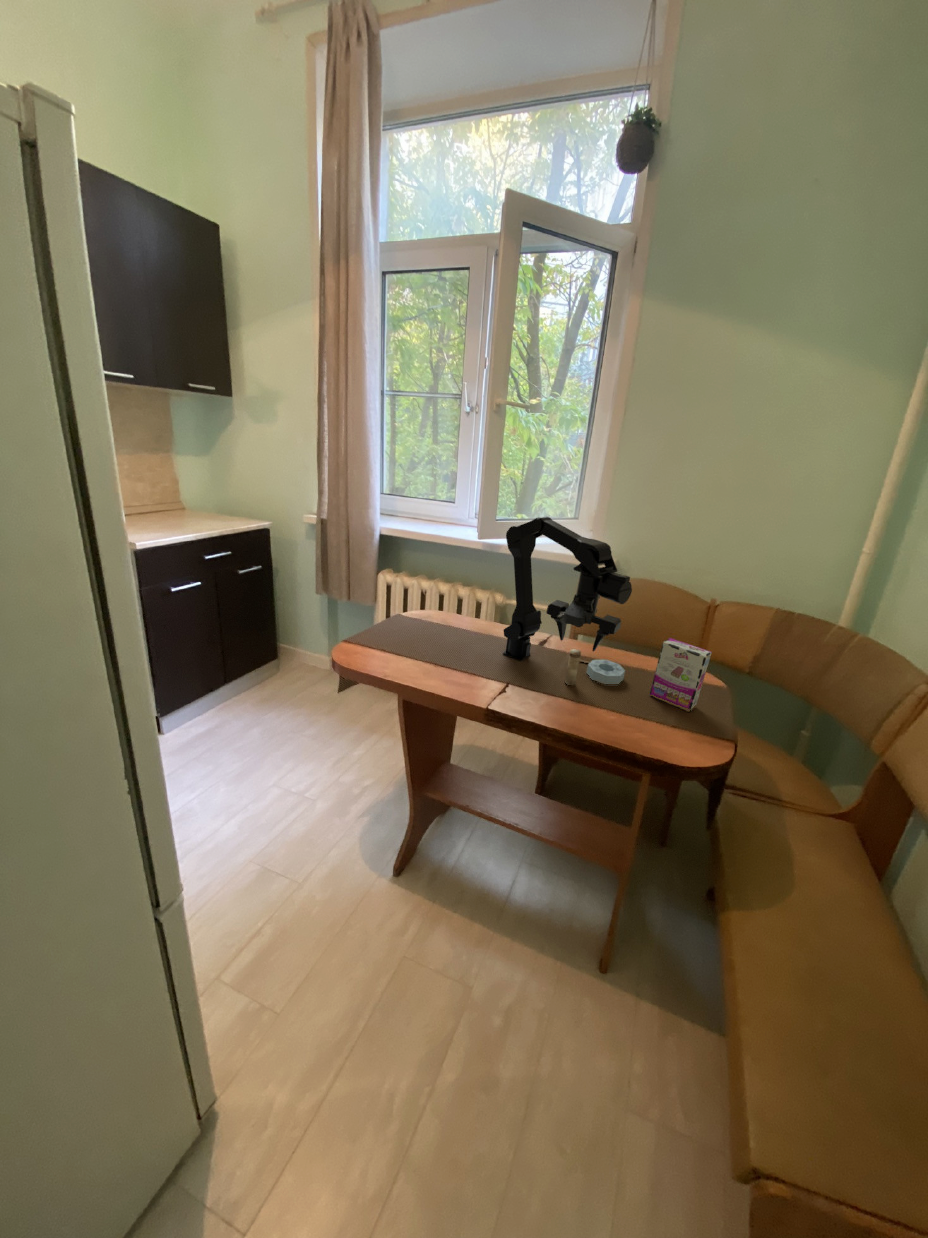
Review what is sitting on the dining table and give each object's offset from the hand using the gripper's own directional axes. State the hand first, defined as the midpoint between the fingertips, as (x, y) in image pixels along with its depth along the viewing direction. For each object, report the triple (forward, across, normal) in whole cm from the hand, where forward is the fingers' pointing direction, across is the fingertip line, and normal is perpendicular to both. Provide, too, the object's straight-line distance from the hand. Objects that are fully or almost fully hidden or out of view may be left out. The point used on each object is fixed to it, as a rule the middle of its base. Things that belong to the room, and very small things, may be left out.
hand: (577, 645), depth 130 cm
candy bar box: (+12, +25, +10) cm, 30 cm away
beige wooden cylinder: (+12, 0, 0) cm, 12 cm away
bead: (+12, +6, +11) cm, 17 cm away
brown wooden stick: (+12, +2, +16) cm, 20 cm away
